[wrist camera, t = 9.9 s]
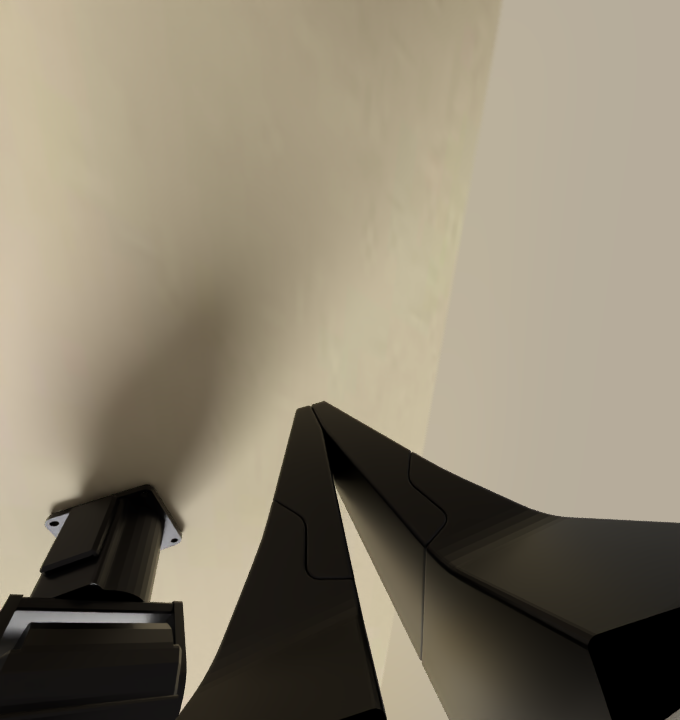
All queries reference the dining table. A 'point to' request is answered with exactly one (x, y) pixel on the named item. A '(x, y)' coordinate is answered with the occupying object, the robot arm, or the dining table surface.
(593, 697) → the robot arm
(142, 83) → the dining table surface
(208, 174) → the dining table surface
